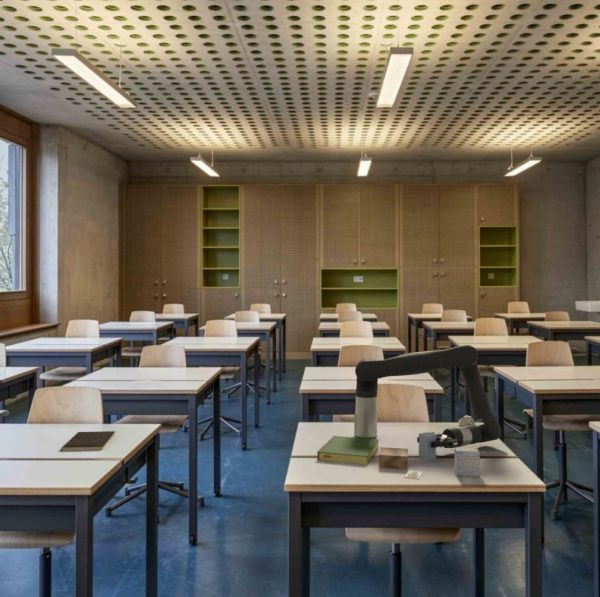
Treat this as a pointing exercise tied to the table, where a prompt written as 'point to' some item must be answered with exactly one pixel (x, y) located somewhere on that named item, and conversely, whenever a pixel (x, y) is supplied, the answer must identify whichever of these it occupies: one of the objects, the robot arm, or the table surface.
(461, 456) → the medicine box
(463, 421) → the game die
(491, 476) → the table surface
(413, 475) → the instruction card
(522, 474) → the table surface
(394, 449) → the base brick
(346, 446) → the hardcover book
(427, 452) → the top brick
